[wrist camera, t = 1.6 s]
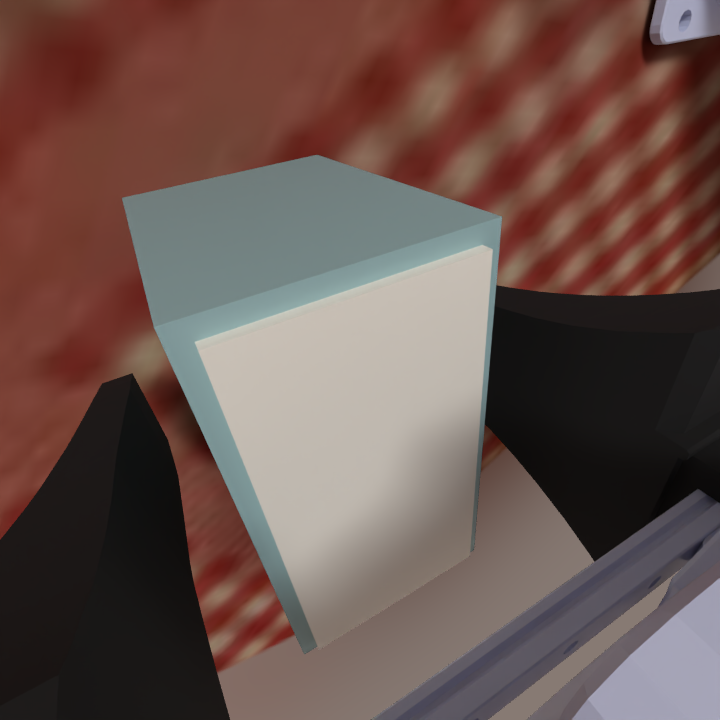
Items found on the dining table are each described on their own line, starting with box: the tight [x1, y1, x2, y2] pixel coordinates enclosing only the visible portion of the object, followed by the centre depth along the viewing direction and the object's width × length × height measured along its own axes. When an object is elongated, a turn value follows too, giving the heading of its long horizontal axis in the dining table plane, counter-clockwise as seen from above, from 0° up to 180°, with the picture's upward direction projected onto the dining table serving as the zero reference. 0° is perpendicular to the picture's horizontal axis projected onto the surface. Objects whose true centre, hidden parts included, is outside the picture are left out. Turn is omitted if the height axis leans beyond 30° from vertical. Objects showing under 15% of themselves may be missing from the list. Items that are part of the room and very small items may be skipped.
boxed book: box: [122, 155, 502, 654], centre depth 10 cm, size 4×8×6 cm, turn 7°
